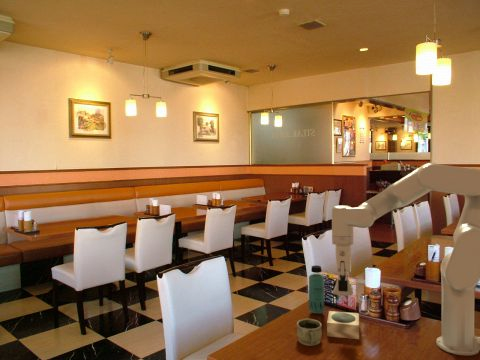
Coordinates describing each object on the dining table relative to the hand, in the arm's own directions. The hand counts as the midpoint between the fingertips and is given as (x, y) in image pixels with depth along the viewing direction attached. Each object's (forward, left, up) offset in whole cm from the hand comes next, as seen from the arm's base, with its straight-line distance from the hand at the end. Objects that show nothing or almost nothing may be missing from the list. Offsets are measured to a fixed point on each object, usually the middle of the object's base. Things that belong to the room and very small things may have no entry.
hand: (343, 287), depth 145 cm
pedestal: (0, 0, -16) cm, 16 cm away
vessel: (+11, +10, -17) cm, 23 cm away
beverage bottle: (+11, -14, -17) cm, 24 cm away
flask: (0, 0, -2) cm, 2 cm away
